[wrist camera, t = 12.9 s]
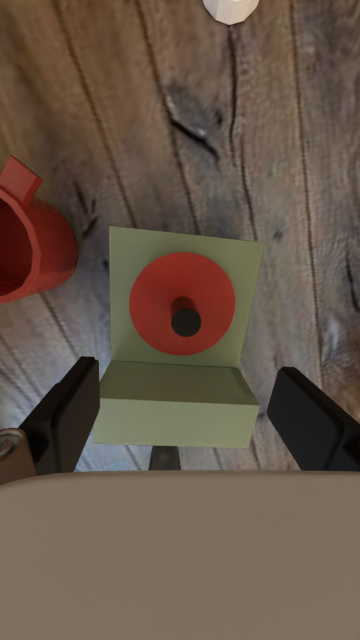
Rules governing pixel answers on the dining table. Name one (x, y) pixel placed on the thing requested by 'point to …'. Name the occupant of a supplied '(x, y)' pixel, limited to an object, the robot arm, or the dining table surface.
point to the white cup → (230, 9)
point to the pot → (31, 237)
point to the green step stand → (169, 379)
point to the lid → (182, 303)
